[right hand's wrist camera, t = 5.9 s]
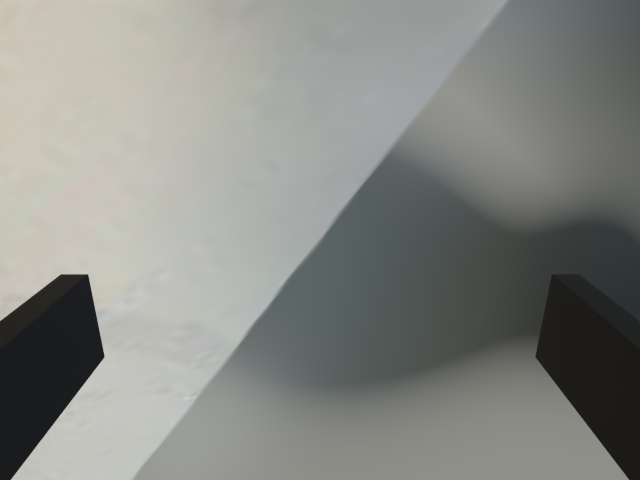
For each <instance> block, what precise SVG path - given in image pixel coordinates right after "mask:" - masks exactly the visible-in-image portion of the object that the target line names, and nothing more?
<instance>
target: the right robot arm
mask: <svg viewBox="0 0 640 480" xmlns="http://www.w3.org/2000/svg"><path fill="white" fill-rule="evenodd" d="M103 358H104V352H103V347H102V342H101V337H100V332H99V327H98V322H97V317H96V312H95V307H94V302H93V297H92V292H91V287H90V282H89V277H88V275H60V276H58V277H57V278H56V279H55V280H53V281H52V282H51V283H49V284H48V285H47V286H45V287H44V288H43V289H42V290H40V291H39V292H38V293H36V294H35V295H34V296H32V297H31V298H30V299H29V300H27V301H26V302H25V303H23V304H22V305H21V306H19V307H18V308H17V309H16V310H14V311H13V312H12V313H10V314H9V315H8V316H6V317H5V318H4V319H3V320H1V321H0V480H11V479H12V477H13V476H14V475H15V473H16V472H17V471H18V469H19V468H20V467H21V466H22V464H23V463H24V462H25V460H26V459H27V458H28V456H29V455H30V454H31V452H32V451H33V450H34V449H35V447H36V446H37V445H38V443H39V442H40V441H41V439H42V438H43V437H44V435H45V434H46V433H47V432H48V430H49V429H50V428H51V426H52V425H53V424H54V422H55V421H56V420H57V418H58V417H59V416H60V415H61V413H62V412H63V411H64V409H65V408H66V407H67V405H68V404H69V403H70V401H71V400H72V399H73V398H74V396H75V395H76V394H77V392H78V391H79V390H80V388H81V387H82V386H83V384H84V383H85V382H86V381H87V379H88V378H89V377H90V375H91V374H92V373H93V371H94V370H95V369H96V367H97V366H98V365H99V364H100V362H101V361H102V360H103ZM536 358H537V360H538V361H539V362H540V364H541V365H542V366H543V367H544V369H545V370H546V371H547V373H548V374H549V375H550V377H551V378H552V379H553V381H554V382H555V383H556V384H557V386H558V387H559V388H560V390H561V391H562V392H563V394H564V395H565V396H566V398H567V399H568V400H569V401H570V403H571V404H572V405H573V407H574V408H575V409H576V411H577V412H578V413H579V415H580V416H581V417H582V418H583V420H584V421H585V422H586V424H587V425H588V426H589V428H590V429H591V430H592V432H593V433H594V434H595V435H596V437H597V438H598V439H599V441H600V442H601V443H602V445H603V446H604V447H605V449H606V450H607V451H608V452H609V454H610V455H611V456H612V458H613V459H614V460H615V462H616V463H617V464H618V466H619V467H620V468H621V469H622V471H623V472H624V473H625V475H626V476H627V477H628V479H629V480H640V321H639V320H637V319H636V318H635V317H633V316H632V315H631V314H630V313H628V312H627V311H626V310H624V309H623V308H622V307H621V306H619V305H618V304H617V303H615V302H614V301H613V300H611V299H610V298H609V297H608V296H606V295H605V294H604V293H602V292H601V291H600V290H598V289H597V288H596V287H595V286H593V285H592V284H591V283H589V282H588V281H587V280H585V279H584V278H583V277H581V276H580V275H552V277H551V282H550V287H549V292H548V297H547V302H546V307H545V312H544V317H543V322H542V327H541V332H540V337H539V342H538V347H537V352H536Z"/></svg>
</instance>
